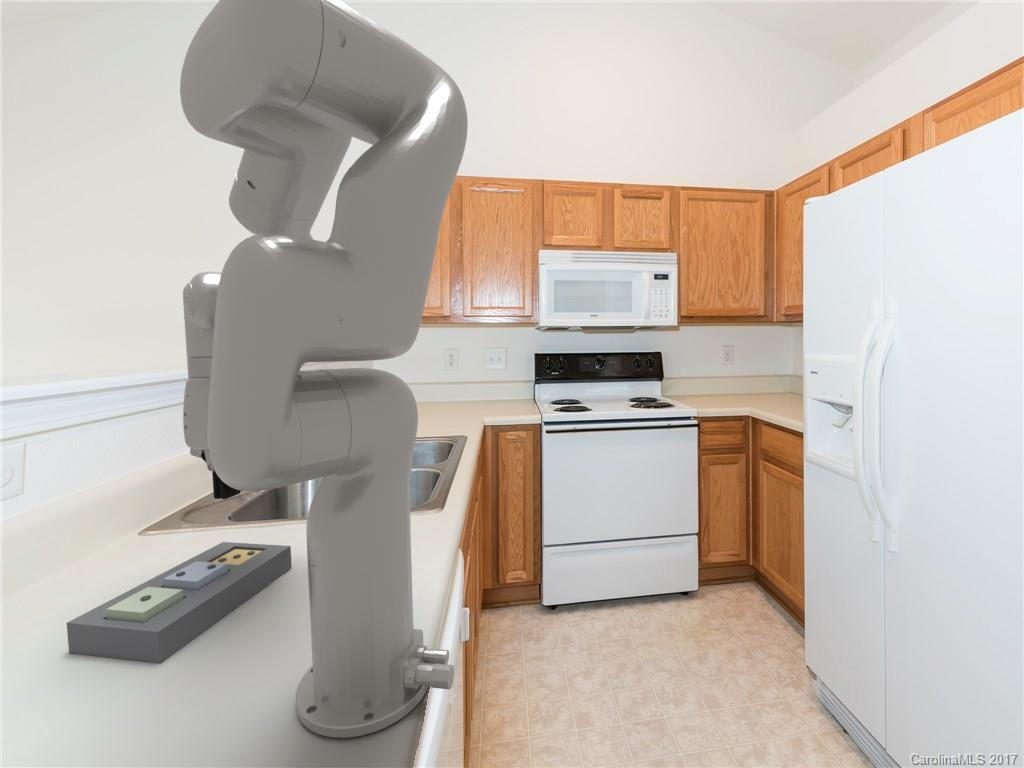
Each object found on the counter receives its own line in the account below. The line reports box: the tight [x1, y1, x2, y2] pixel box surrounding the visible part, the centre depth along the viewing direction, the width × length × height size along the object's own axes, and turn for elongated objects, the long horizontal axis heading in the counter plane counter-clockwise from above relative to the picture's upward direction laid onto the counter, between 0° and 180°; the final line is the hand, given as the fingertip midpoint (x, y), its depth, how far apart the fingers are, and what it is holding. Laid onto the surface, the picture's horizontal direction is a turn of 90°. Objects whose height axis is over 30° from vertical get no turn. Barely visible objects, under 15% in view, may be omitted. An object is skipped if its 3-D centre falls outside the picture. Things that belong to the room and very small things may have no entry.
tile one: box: [106, 587, 183, 623], centre depth 53 cm, size 5×5×2 cm
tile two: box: [163, 561, 228, 590], centre depth 60 cm, size 5×5×2 cm
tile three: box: [213, 549, 261, 565], centre depth 67 cm, size 5×5×2 cm
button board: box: [66, 541, 293, 664], centre depth 60 cm, size 12×22×4 cm, turn 170°
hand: (227, 495), depth 65 cm, fingers closed
